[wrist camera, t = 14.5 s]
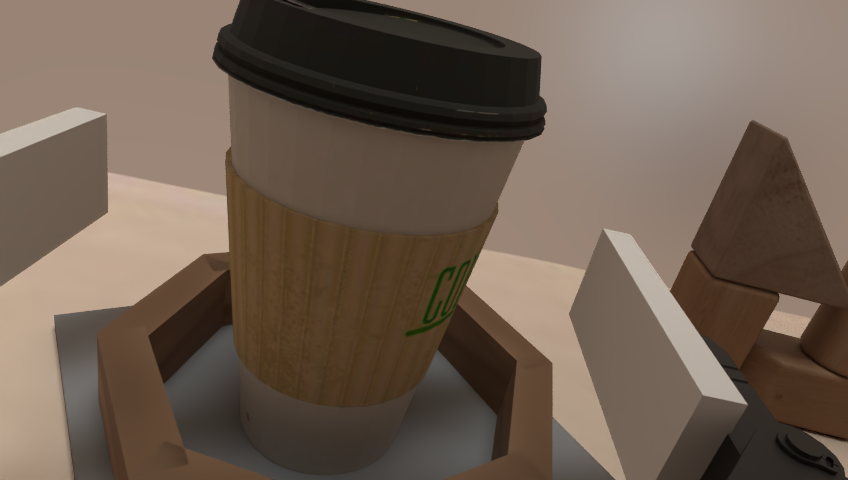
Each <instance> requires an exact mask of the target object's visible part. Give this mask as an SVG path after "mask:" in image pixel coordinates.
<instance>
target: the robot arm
mask: <svg viewBox="0 0 848 480" xmlns="http://www.w3.org/2000/svg"><path fill="white" fill-rule="evenodd" d="M106 213H108V174H107V114H104V113H100V112H96V111H91V110H87V109H82V108H78V107H75V108H72V109H69V110H66V111H64V112H61V113H58V114H55V115H52V116H49V117H47V118H44V119H41V120H38V121H35V122H32V123H30V124H27V125H24V126H21V127H18V128H16V129H13V130H10V131H7V132H4V133H1V134H0V286H2V285H3V284H5V283H6V282H8V281H9V280H11V279H12V278H13V277H15V276H16V275H18V274H19V273H21V272H22V271H24V270H25V269H26V268H28V267H29V266H31V265H32V264H34V263H35V262H37V261H38V260H40V259H41V258H42V257H44V256H45V255H47V254H48V253H50V252H51V251H53V250H54V249H55V248H57V247H58V246H60V245H61V244H63V243H64V242H66V241H67V240H68V239H70V238H71V237H73V236H74V235H76V234H77V233H79V232H80V231H81V230H83V229H84V228H86V227H87V226H89V225H90V224H92V223H93V222H95V221H96V220H97V219H99V218H100V217H102V216H103V215H105V214H106ZM569 315H570V318H571V321H572V324H573V327H574V330H575V333H576V335H577V338H578V341H579V344H580V347H581V350H582V353H583V356H584V359H585V361H586V364H587V367H588V370H589V373H590V376H591V379H592V382H593V385H594V387H595V390H596V393H597V396H598V399H599V402H600V405H601V408H602V410H603V413H604V416H605V419H606V422H607V425H608V428H609V431H610V434H611V436H612V439H613V442H614V445H615V448H616V451H617V454H618V457H619V460H620V462H621V465H622V468H623V471H624V474H625V477H626V480H848V478H846V477H845V472H844V468H843V466H842V465H841V463H840V462H839V460H838V459H837V457H836V456H835V455H834V454H833V453H832V452H831V451H830V450H829V449H827V448H826V447H825V446H824V445H823V444H822V443H820V442H819V441H817V440H816V439H814V438H813V437H811V436H810V435H809V434H807V433H805V432H803V431H801V430H799V429H797V428H795V427H792V426H790V425H786V424H783V423H779V422H777V420H776V419H775V418H774V416H773V415H772V413H771V412H770V411H769V409H768V408H767V407H766V405H765V404H764V403H763V401H762V400H761V398H760V397H759V396H758V394H757V393H756V392H755V390H754V389H753V387H752V386H751V385H748V381H747V379H746V378H745V376H744V375H743V374H742V372H741V371H738V369H739V368H738V367H737V365H736V364H735V363H734V361H733V360H732V359H731V357H730V356H729V355H728V353H727V352H726V351H725V350H724V349H722V348H721V347H720V346H719V345H718V344H716V343H715V342H714V341H713V340H712V339H710V338H709V337H708V336H705V335H700V334H699V333H698V332H697V330H696V329H695V327H694V326H693V324H692V323H691V321H690V320H689V319H688V317H687V316H686V314H685V313H684V311H683V310H682V308H681V307H680V305H679V304H678V303H677V301H676V300H675V298H674V297H673V295H672V294H671V292H670V291H669V290H668V288H667V287H666V285H665V284H664V282H663V281H662V280H661V278H660V276H659V275H658V274H657V272H656V271H655V269H654V268H653V266H652V265H651V264H650V262H649V261H648V259H647V258H646V256H645V255H644V253H643V252H642V250H641V249H640V247H639V246H638V245H637V243H636V242H635V240H634V239H633V237H632V236H631V235H630V234H626V233H621V232H617V231H613V230H608V229H604V228H603V230H602V232H601V235H600V237H599V240H598V242H597V245H596V248H595V250H594V253H593V255H592V258H591V260H590V263H589V266H588V268H587V270H586V273H585V275H584V278H583V280H582V283H581V285H580V288H579V290H578V293H577V295H576V298H575V300H574V303H573V305H572V308H571V310H570V313H569Z"/></svg>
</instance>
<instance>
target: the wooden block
mask: <svg viewBox="0 0 848 480" xmlns="http://www.w3.org/2000/svg"><path fill="white" fill-rule="evenodd" d="M691 247H692V248H693V251H690V252H689V253H688V255H687V257H686V259H685V261H684V263H683V265H682V267H681V269H680V272H679V274H678V276H677V278H676V280H675V282H674V284H673V286H672V288H671V290H670V292H671V294H672V295H673V297H674V298H675V300H676V301H677V303H678V304H679V305H680V307H681V308H682V310H683V311H684V313H685V314H686V316H687V317H688V319H689V320H690V321H691V323H692V324H693V326H694V327H695V329H696V330H697V332H698V333H699V334H700V335H705V336H708V337H709V338H710V339H712V340H713V341H714V342H715V343H716V344H718V345H719V346H720V347H721V348H722V349H724V350H725V351H726V352H727V353H728V355H729V356H730V357H731V359H732V360H733V361H734V363H735V364H736V365H737V367H738V368H739V369H738V371H741V372H742V374H743V375H744V376H745V378H746V379H747V381H748V385H751V386H752V387H753V389H754V390H755V392H756V393H757V394H758V396H759V397H760V398H761V400H762V401H763V403H764V404H765V405H766V407H767V408H768V409H769V411H770V412H771V413H772V415H773V416H774V418H775V419H776V420H777V422H781V423H785V424H789V425H793V426H797V427H801V428H805V429H809V430H813V431H817V432H820V433H824V434H828V435H832V436H836V437H840V438H844V439H848V261H847V263H846V264H845V266H844V267H843V269H842V271H841V270H840V268H839V265H838V263H837V260H836V258H835V255H834V253H833V250H832V248H831V245H830V243H829V241H828V238H827V236H826V233H825V231H824V228H823V226H822V223H821V221H820V218H819V216H818V213H817V211H816V208H815V206H814V203H813V201H812V199H811V196H810V193H809V191H808V188H807V186H806V183H805V181H804V179H803V176H802V174H801V171H800V169H799V166H798V164H797V161H796V159H795V156H794V154H793V151H792V149H791V146H790V144H789V141H788V139H787V138H786V137H784V136H782V135H781V134H779V133H777V132H775V131H773V130H771V129H769V128H767V127H765V126H763V125H761V124H759V123H758V122H756V121H754V120H753V121H751V122H750V123H749V125H748V127H747V129H746V131H745V134H744V136H743V138H742V140H741V142H740V144H739V146H738V148H737V150H736V152H735V154H734V157H733V158H732V161H731V163H730V165H729V167H728V169H727V171H726V173H725V176H724V177H723V179H722V181H721V184H720V186H719V188H718V190H717V192H716V194H715V196H714V198H713V200H712V202H711V204H710V207H709V209H708V211H707V213H706V215H705V217H704V219H703V221H702V223H701V225H700V227H699V230H698V232H697V234H696V236H695V238H694V240H693V242H692V246H691ZM778 293H781V294H785V295H789V296H793V297H797V298H801V299H805V300H809V301H813V302H817V303H820V304H821V305H820V306H819V308H818V310H817V311H816V313H815V315H814V316H813V318H812V319H811V321H810V322H809V324H808V326H807V327H806V329H805V331H804V332H803V334H802V335H801V339H800V338H796V337H792V336H788V335H784V334H780V333H776V332H773V331H769V330H765V329H763V327H764V326H765V324H766V322H767V320H768V319H769V317H770V315H771V313H772V312H773V310H774V308H775V307H776V305H777V303H778V301H779V294H778Z"/></svg>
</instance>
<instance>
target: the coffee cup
mask: <svg viewBox="0 0 848 480" xmlns="http://www.w3.org/2000/svg"><path fill="white" fill-rule="evenodd" d="M217 41H218V42H217V43H216V45H215V48H214V53H213V57H212V59H213V60H214V62H215V63H216V65H217V66H218V67H219V68H220V69H221V70H222V71H224V72H225V73H227V74H228V80H229V105H230V131H231V147H230V148H229V150H228V151H227V152H226V161H225V165H226V187H227V209H228V231H229V253H230V275H231V297H232V319H233V341H234V345H235V348H236V352H237V355H238V357H239V384H240V413H241V423H242V426H243V430H244V432H245V434H246V436H247V437H248V439H249V441H250V443H251V444H252V445H253V446H254V447H255V448H256V449H257V450H258V451H259V452H260V453H261V454H262V455H264V456H265V457H267V458H268V459H269V460H271V461H272V462H274V463H276V464H278V465H280V466H283V467H285V468H287V469H290V470H293V471H297V472H301V473H305V474H314V475H336V474H343V473H348V472H352V471H356V470H358V469H361V468H363V467H365V466H367V465H370V464H371V463H373V462H374V461H375V460H377V459H378V458H380V457H381V456H382V455H383V454H384V453H385V452H386V451H387V449H388V448H389V447H390V446H391V444H392V442H393V440H394V438H395V436H396V434H397V431H398V429H399V427H400V424H401V422H402V420H403V417H404V415H405V413H406V411H407V408H408V406H409V404H410V401H411V399H412V397H413V394H414V392H415V390H416V388H417V385H418V384H419V383H420V382H421V380H422V379H423V378H424V376H425V374H426V372H427V371H428V369H429V367H430V364H431V362H432V360H433V358H434V355H435V353H436V351H437V349H438V346H439V344H440V342H441V340H442V337H443V335H444V333H445V331H446V328H447V326H448V324H449V322H450V319H451V317H452V315H453V313H454V311H455V308H456V306H457V304H458V302H459V299H460V297H461V295H462V293H463V290H464V288H465V286H466V284H467V281H468V279H469V277H470V275H471V272H472V270H473V268H474V266H475V263H476V261H477V259H478V257H479V254H480V252H481V250H482V248H483V245H484V243H485V241H486V239H487V236H488V234H489V232H490V230H491V227H492V225H493V223H494V220H495V218H496V216H497V214H498V199H499V197H500V195H501V193H502V190H503V188H504V186H505V184H506V181H507V179H508V176H509V174H510V172H511V170H512V167H513V165H514V163H515V161H516V158H517V156H518V154H519V152H520V150H521V147H522V145H523V143H524V140H529V139H532V138H534V137H537V136H539V135H541V134H542V132H543V130H544V125H545V118H544V115H545V113H546V112H547V107H546V103H545V101H544V99H543V98H542V97H540V96H539V91H540V75H541V55H540V53H538V52H537V51H535V50H533V49H531V48H529V47H527V46H525V45H522V44H520V43H517V42H515V41H512V40H509V39H506V38H503V37H500V36H498V35H495V34H492V33H488V32H485V31H482V30H479V29H475V28H472V27H469V26H465V25H462V24H458V23H455V22H451V21H447V20H444V19H440V18H437V17H433V16H429V15H425V14H421V13H417V12H414V11H410V10H406V9H401V8H397V7H393V6H389V5H385V4H380V3H376V2H371V1H367V0H240V2H239V5H238V8H237V11H236V13H235V16H234V19H233V22H232V24H228V25H226V26H224V27H222V28H221V30H220V32H219V34H218V38H217Z"/></svg>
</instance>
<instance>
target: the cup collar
mask: <svg viewBox="0 0 848 480" xmlns="http://www.w3.org/2000/svg"><path fill="white" fill-rule="evenodd" d="M54 320H55V331H56V339H57V347H58V354H59V362H60V370H61V377H62V385H63V393H64V400H65V408H66V416H67V423H68V431H69V439H70V446H71V454H72V462H73V469H74V477H75V480H615V479H614V478H613V477H612V476H611V475H610V474H609V473H608V472H607V471H606V470H605V469H604V468H603V467H602V466H601V465H600V464H599V463H598V462H597V461H596V460H595V459H594V458H593V457H592V456H591V455H590V454H589V453H588V452H587V451H586V450H585V449H584V448H583V447H582V446H581V445H580V444H579V443H578V442H577V441H576V440H575V439H574V438H573V437H572V436H571V435H570V434H569V433H568V432H567V431H566V430H565V429H564V428H563V427H562V426H561V425H560V424H559V423H558V422H557V421H556V420H555V419H554V418H553V417H552V362H550V361H549V360H548V359H547V358H546V357H545V356H544V355H543V354H542V353H540V352H539V351H538V350H537V349H536V348H535V347H534V346H533V345H532V344H531V343H529V342H528V341H527V340H526V339H525V338H524V337H523V336H522V335H521V334H519V333H518V332H517V331H516V330H515V329H514V328H513V327H512V326H511V325H509V324H508V323H507V322H506V321H505V320H504V319H503V318H502V317H501V316H499V315H498V314H497V313H496V312H495V311H494V310H493V309H492V308H491V307H489V306H488V305H487V304H486V303H485V302H484V301H483V300H482V299H481V298H480V297H478V296H477V295H476V294H475V293H474V292H473V291H472V290H471V289H470V288H468V287H467V286H465V288H464V290H463V293H462V295H461V297H460V299H459V302H458V304H457V306H456V308H455V311H454V313H453V315H452V317H451V319H450V322H449V324H448V326H447V328H446V331H445V333H444V335H443V337H442V340H441V342H440V344H439V346H438V349H437V351H436V353H435V355H434V358H433V360H432V362H431V364H430V367H429V369H428V371H427V372H426V374H425V376H424V378H423V379H422V380H421V382H420V383H419V384H418V385H417V388H416V390H415V392H414V394H413V397H412V399H411V401H410V404H409V406H408V408H407V411H406V413H405V415H404V417H403V420H402V422H401V424H400V427H399V429H398V431H397V434H396V436H395V438H394V440H393V442H392V444H391V446H390V447H389V448H388V449H387V451H386V452H385V453H384V454H383V455H382V456H381V457H380V458H378V459H377V460H375V461H374V462H373V463H371V464H370V465H367V466H365V467H363V468H361V469H358V470H356V471H352V472H348V473H343V474H336V475H314V474H305V473H301V472H297V471H293V470H290V469H287V468H285V467H283V466H280V465H278V464H276V463H274V462H272V461H271V460H269V459H268V458H267V457H265V456H264V455H262V454H261V453H260V452H259V451H258V450H257V449H256V448H255V447H254V446H253V445H252V444H251V443H250V441H249V439H248V437H247V436H246V434H245V432H244V430H243V426H242V423H241V413H240V384H239V357H238V355H237V352H236V348H235V345H234V341H233V319H232V297H231V275H230V253H229V252H226V253H213V254H203V255H202V256H200V257H199V258H198V259H196V260H195V261H194V262H192V263H191V264H189V265H188V266H187V267H185V268H184V269H183V270H181V271H180V272H179V273H177V274H176V275H174V276H173V277H172V278H170V279H169V280H168V281H166V282H165V283H163V284H162V285H161V286H159V287H158V288H157V289H155V290H154V291H153V292H151V293H150V294H148V295H147V296H146V297H144V298H143V299H142V300H140V301H139V302H137V303H136V304H135V305H133V306H127V307H119V308H110V309H102V310H94V311H85V312H77V313H69V314H61V315H54Z"/></svg>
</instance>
